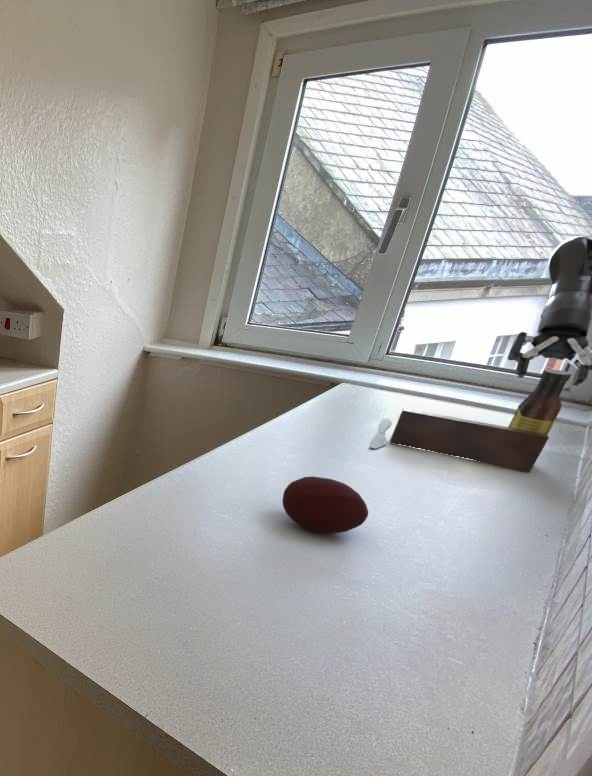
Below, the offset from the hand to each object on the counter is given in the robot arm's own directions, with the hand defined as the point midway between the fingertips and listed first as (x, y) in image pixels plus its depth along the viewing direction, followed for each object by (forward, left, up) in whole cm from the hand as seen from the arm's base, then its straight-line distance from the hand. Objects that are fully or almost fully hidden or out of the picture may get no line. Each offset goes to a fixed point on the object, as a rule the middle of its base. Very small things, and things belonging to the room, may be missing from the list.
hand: (548, 379), depth 116 cm
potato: (+31, +69, -17) cm, 77 cm away
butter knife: (+24, +7, -17) cm, 30 cm away
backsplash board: (+10, +11, -17) cm, 23 cm away
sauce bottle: (0, +6, -17) cm, 18 cm away
